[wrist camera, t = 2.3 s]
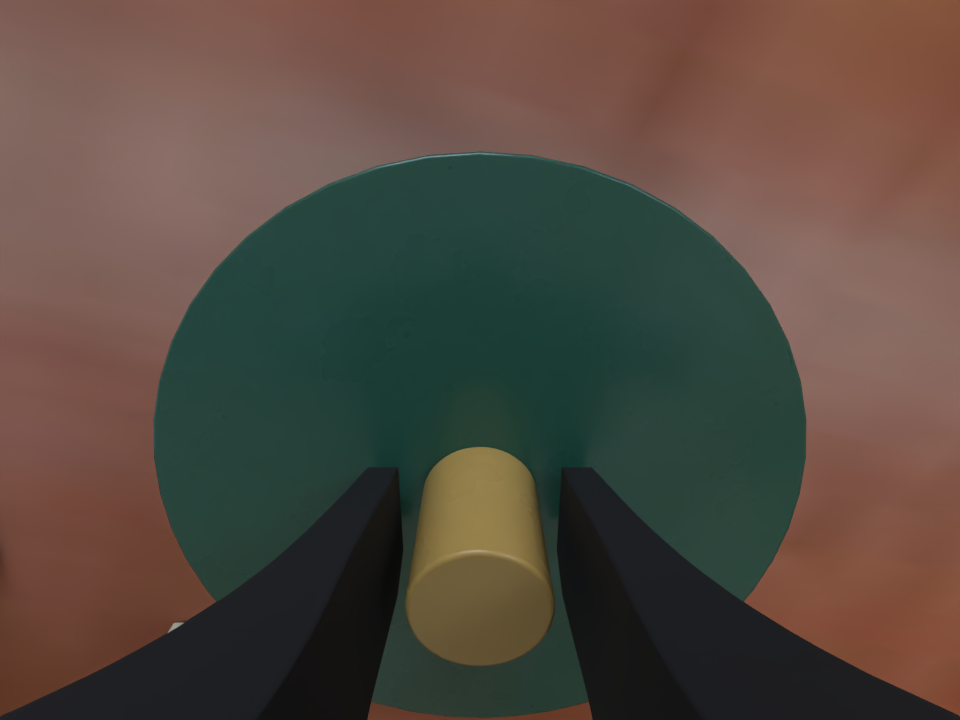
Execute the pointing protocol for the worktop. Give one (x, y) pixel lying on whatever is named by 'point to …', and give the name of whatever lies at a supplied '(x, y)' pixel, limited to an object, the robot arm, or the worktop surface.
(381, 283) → the tin lid
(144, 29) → the worktop surface
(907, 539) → the worktop surface
